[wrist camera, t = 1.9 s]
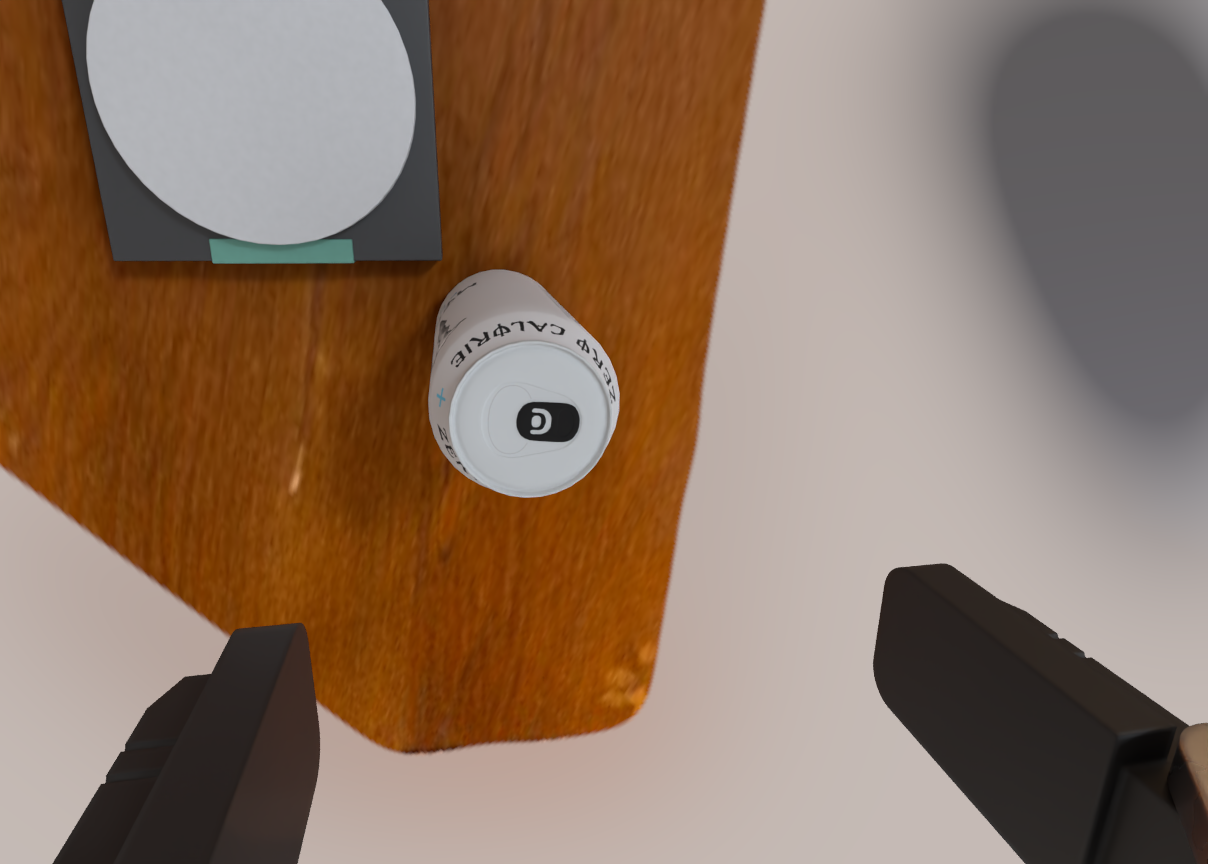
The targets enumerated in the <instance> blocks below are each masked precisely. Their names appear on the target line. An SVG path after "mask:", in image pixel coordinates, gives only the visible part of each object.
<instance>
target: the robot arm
mask: <svg viewBox="0 0 1208 864" xmlns="http://www.w3.org/2000/svg"><path fill="white" fill-rule="evenodd" d="M873 670H874V677H875V681H876V684H877V688H878V690H879V693H880V695H881V697H882V699H883V701H884V702H885V704H886V705H887V706H888V708H890V710H891V711H892V712H893V713H894V714H895V716H896V717H897V718H898V719H899V720H900V721H901V722H902V724H903V725H904V726H905V727H906V728H907V729H908V730H909V731H910V733H911V734H912V735H913V736H914V737H915V738H916V739H917V741H918V742H919V743H920V744H921V745H922V746H923V748H924V749H925V750H926V751H927V752H928V753H929V754H930V755H931V757H932V758H933V759H934V760H935V761H936V762H937V763H938V765H939V766H940V767H941V768H942V769H943V770H944V771H945V773H946V774H947V775H948V776H949V777H950V778H951V779H952V781H953V782H954V783H955V784H956V785H957V786H958V787H959V788H960V790H961V791H962V792H963V793H964V794H965V795H966V796H967V798H968V799H969V800H970V801H971V802H972V803H973V805H975V807H976V808H977V809H978V810H979V811H980V812H981V814H982V815H983V816H984V817H985V818H986V819H987V820H988V821H989V823H990V824H991V825H992V826H993V827H994V828H995V830H996V831H997V832H998V833H999V834H1000V835H1001V836H1002V838H1003V839H1004V840H1005V841H1006V842H1007V843H1008V844H1009V845H1010V846H1011V848H1012V849H1013V850H1014V851H1015V852H1016V853H1017V855H1018V856H1019V857H1020V858H1021V859H1022V860H1023V862H1024V863H1025V864H1208V723H1201V724H1195V725H1192V726H1189V725H1187V724H1186V723H1184V722H1183V721H1181V720H1180V719H1179V718H1177V717H1175V716H1174V715H1173V714H1171V713H1170V712H1169V711H1167V710H1166V709H1164V708H1163V707H1161V706H1160V705H1159V704H1157V703H1156V702H1154V701H1152V700H1151V699H1150V698H1149V697H1147V696H1146V695H1144V694H1143V693H1141V692H1140V691H1139V690H1137V689H1136V688H1134V687H1133V686H1131V685H1130V684H1129V683H1127V682H1126V681H1124V680H1123V679H1121V678H1120V677H1118V676H1117V675H1116V674H1114V673H1113V672H1111V671H1110V670H1109V669H1107V668H1106V667H1104V666H1103V665H1102V664H1100V663H1099V662H1097V661H1095V660H1094V659H1093V658H1086V657H1085V655H1084V652H1083V651H1081V650H1080V649H1079V648H1077V647H1076V646H1074V645H1073V644H1071V643H1070V642H1069V641H1067V640H1066V639H1064V638H1062V639H1059V638H1058V635H1057V633H1056V632H1054V631H1053V630H1052V629H1050V628H1049V627H1047V626H1046V625H1044V624H1043V623H1042V622H1040V621H1039V620H1037V619H1036V618H1034V617H1033V616H1032V615H1030V614H1029V613H1027V612H1026V611H1024V610H1021V609H1019V608H1017V607H1015V606H1012V605H1010V604H1008V603H1006V602H1003V601H1001V600H999V599H998V598H996V597H995V596H993V595H992V594H991V593H989V592H988V591H986V590H985V589H984V588H982V587H981V586H979V585H978V584H976V583H975V582H974V581H972V580H971V579H969V578H968V577H967V576H965V575H964V574H962V573H961V572H960V571H958V570H957V569H956V568H954V567H952V566H951V565H948V564H933V565H921V566H911V567H900V568H895V569H893V570H892V571H891V572H890V573H889V574H888V576H887V578H886V581H885V585H884V592H883V599H882V605H881V612H880V619H879V625H878V632H877V640H876V646H875V652H874V660H873ZM319 759H320V732H319V721H318V713H317V706H316V698H315V690H314V682H313V675H312V667H311V659H310V651H309V643H308V637H307V632H306V629H305V627H304V625H303V624H302V623H294V624H283V625H273V626H262V627H252V628H241V629H236V630H235V631H234V632H233V633H232V635H231V637H230V639H229V641H228V643H227V645H226V646H225V649H224V651H223V652H222V654H221V656H220V658H219V660H218V662H217V664H216V666H215V668H214V670H213V672H212V674H207V675H197V676H189V677H184V678H183V679H182V680H181V681H179V682H178V683H177V684H176V685H175V686H174V687H172V688H171V689H170V690H169V691H167V692H166V693H165V694H164V695H163V696H162V697H160V698H159V699H158V700H157V701H156V702H154V703H153V704H152V705H151V706H150V707H149V708H147V710H146V711H145V713H144V715H143V716H142V718H141V719H140V721H139V723H138V724H137V726H136V728H135V729H134V731H133V733H132V734H131V736H130V738H129V739H128V741H127V742H126V744H125V751H124V752H120V754H119V756H118V757H117V759H116V760H115V762H114V764H113V765H112V767H111V769H110V770H109V772H108V774H107V775H106V783H105V784H101V785H100V787H99V788H98V790H97V792H96V793H95V795H94V797H93V798H92V800H91V802H90V803H89V805H88V807H87V808H86V810H85V811H84V813H83V815H82V816H81V818H80V820H79V821H78V823H77V825H76V826H75V828H74V830H73V831H72V833H71V834H70V836H69V838H68V839H67V841H66V843H65V844H64V846H63V848H62V849H61V851H60V853H59V854H58V856H57V857H56V859H55V861H54V863H53V864H297V863H298V859H299V854H300V851H301V846H302V842H303V837H304V833H305V829H306V825H307V820H308V817H309V812H310V808H311V804H312V799H313V795H314V791H315V787H316V782H317V777H318V769H319Z"/></svg>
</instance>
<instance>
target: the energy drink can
mask: <svg viewBox="0 0 1208 864" xmlns="http://www.w3.org/2000/svg"><path fill="white" fill-rule="evenodd" d="M428 404H429V419H430V423H431V426H432V430H433V434H434V437H435V439H436V441H437V443H438V445H439V446H440V448H441V450H442V452H443V454H444V455H445V456H446V457H447V458H448V460H449V461H450V462H451V463H452V465H453V466H454V467H455V468H456V469H458V470H459V471H460V472H461V473H463V474H464V475H465V476H466V477H467V478H469V479H471V480H473V481H475V482H476V483H478V484H480V485H482V486H484V487H487V488H490V489H492V490H494V491H497V492H500V493H503V494H506V495H509V496H516V497H525V498H527V497H541V496H545V495H550V494H554V493H557V492H559V491H561V490H564V489H566V488H568V487H570V486H572V485H573V484H575V483H576V482H578V481H579V480H581V479H582V478H583V477H584V476H585V475H586V474H587V473H588V472H589V471H590V470H591V469H592V468H593V467H594V466H595V465H596V463H597V462H598V460H599V459H600V458H601V456H602V455H603V452H604V450H605V448H606V446H607V445H608V443H609V441H610V438H611V436H612V434H613V432H614V429H615V426H616V422H617V417H618V413H619V388H618V383H617V377H616V374H615V371H614V369H613V366H612V364H611V361H610V359H609V358H608V356H607V354H606V353H605V351H604V350H603V348H602V347H601V345H600V344H599V343H598V342H597V341H596V340H595V339H594V338H593V337H592V336H591V335H590V334H589V333H588V332H587V331H586V330H585V329H584V328H583V327H582V326H581V325H580V324H579V323H578V322H577V321H576V320H575V319H574V318H573V317H572V316H571V315H570V314H569V313H568V312H567V311H566V310H565V309H564V308H563V307H562V306H561V305H560V304H559V303H558V302H557V301H556V300H555V299H554V298H553V297H552V296H551V295H550V294H549V293H548V292H547V291H546V290H545V289H544V288H543V287H542V286H541V285H540V284H539V283H537V282H536V281H534V280H533V279H531V278H530V277H528V276H525V275H523V274H521V273H518V272H514V271H509V270H488V271H483V272H479V273H477V274H474V275H472V276H470V277H467V278H466V279H464V280H463V281H462V282H460V283H459V284H457V285H456V286H455V287H454V288H453V289H452V290H451V292H450V293H449V294H448V295H447V297H446V298H445V300H444V302H443V303H442V305H441V308H440V310H439V313H438V316H437V322H436V328H435V338H434V348H433V358H432V368H431V378H430V388H429V398H428Z"/></svg>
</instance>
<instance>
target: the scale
mask: <svg viewBox="0 0 1208 864" xmlns="http://www.w3.org/2000/svg"><path fill="white" fill-rule="evenodd" d="M62 3H63V8H64V13H65V18H66V23H67V28H68V34H69V39H70V44H71V49H72V54H73V59H74V64H75V69H76V74H77V79H78V84H79V89H80V94H81V99H82V104H83V109H84V114H85V119H86V124H87V129H88V134H89V139H90V144H91V149H92V154H93V159H94V164H95V169H96V174H97V179H98V184H99V189H100V194H101V199H102V204H103V209H104V214H105V219H106V224H107V229H108V234H109V240H110V245H111V250H112V255H113V260H114V261H212V262H213V263H214V264H241V263H354V262H356V261H441V260H442V256H443V255H442V237H441V219H440V200H439V182H438V164H437V146H436V128H435V109H434V91H433V73H432V55H431V37H430V18H429V0H62Z"/></svg>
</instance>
